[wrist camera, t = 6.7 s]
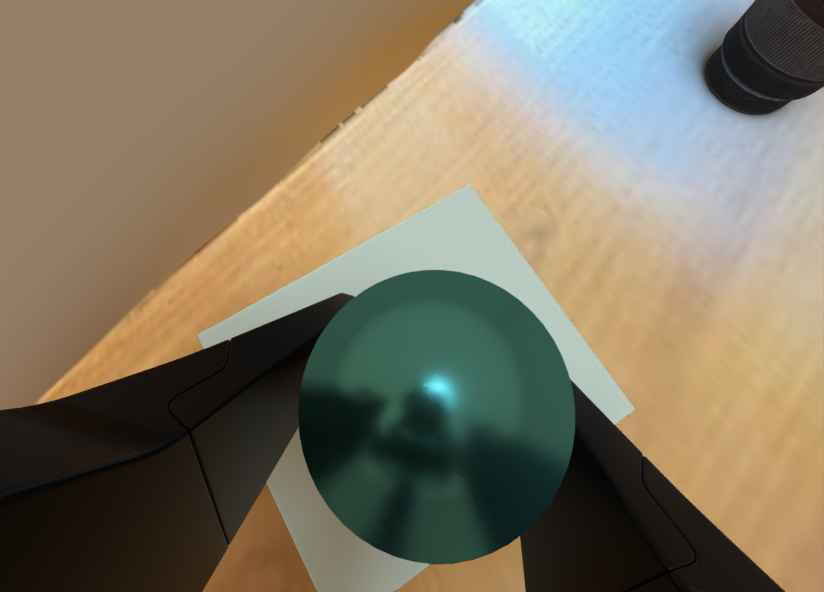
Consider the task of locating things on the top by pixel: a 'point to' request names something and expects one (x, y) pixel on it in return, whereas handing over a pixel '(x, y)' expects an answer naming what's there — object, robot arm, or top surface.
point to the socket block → (352, 274)
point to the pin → (436, 416)
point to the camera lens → (770, 56)
